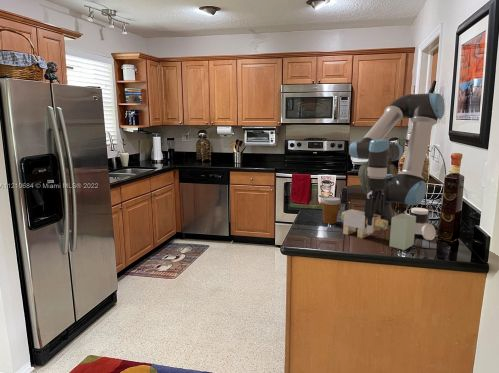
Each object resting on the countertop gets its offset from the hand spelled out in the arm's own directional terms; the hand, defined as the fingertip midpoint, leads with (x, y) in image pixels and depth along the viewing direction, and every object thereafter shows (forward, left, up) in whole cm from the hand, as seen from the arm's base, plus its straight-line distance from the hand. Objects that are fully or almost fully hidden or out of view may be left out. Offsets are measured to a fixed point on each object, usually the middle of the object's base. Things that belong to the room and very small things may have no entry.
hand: (372, 230), depth 154 cm
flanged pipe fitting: (-18, +14, -4) cm, 23 cm away
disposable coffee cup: (-8, -26, -3) cm, 28 cm away
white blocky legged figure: (0, -8, -3) cm, 8 cm away
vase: (-64, -30, -3) cm, 71 cm away
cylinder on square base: (0, -5, +1) cm, 5 cm away
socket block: (0, +12, -3) cm, 13 cm away
